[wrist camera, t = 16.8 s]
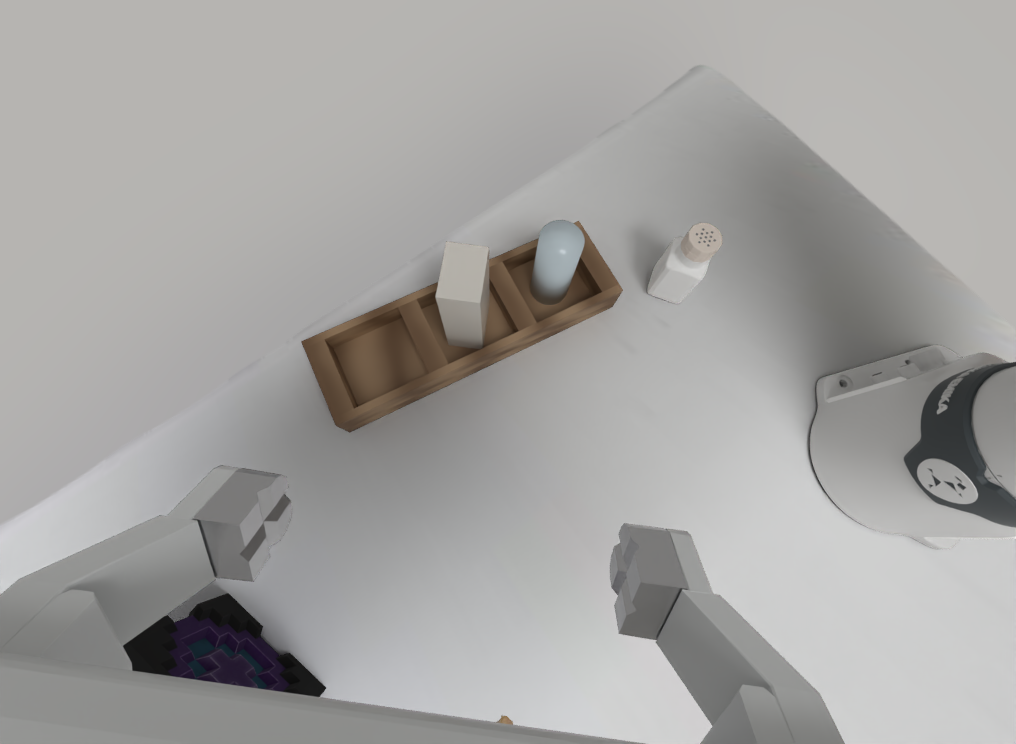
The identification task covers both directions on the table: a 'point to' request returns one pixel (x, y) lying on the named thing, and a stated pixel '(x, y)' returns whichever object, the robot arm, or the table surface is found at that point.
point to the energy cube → (219, 651)
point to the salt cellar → (556, 261)
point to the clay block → (464, 294)
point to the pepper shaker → (684, 263)
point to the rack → (423, 343)
